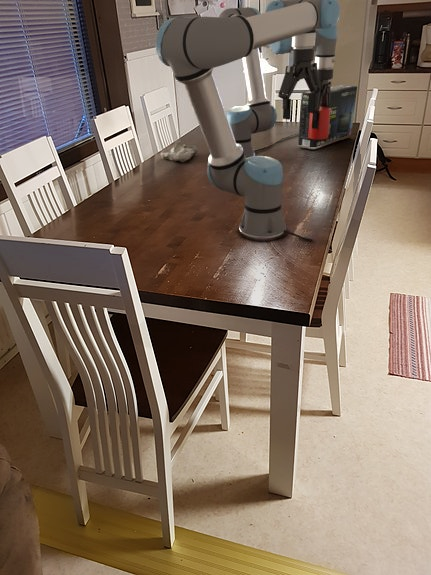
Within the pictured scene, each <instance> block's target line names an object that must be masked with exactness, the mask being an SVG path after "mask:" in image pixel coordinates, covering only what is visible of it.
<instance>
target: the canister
mask: <svg viewBox="0 0 431 575" xmlns="http://www.w3.org/2000/svg"><path fill="white" fill-rule="evenodd" d="M319 112H320V115H319V126H318V129H313V128H312V117H313V113H310V119H309V132H308V137H309V138H311V139H326V138H328V132H329V122H330V112H331V108H328V107H320V109H319Z"/></svg>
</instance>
